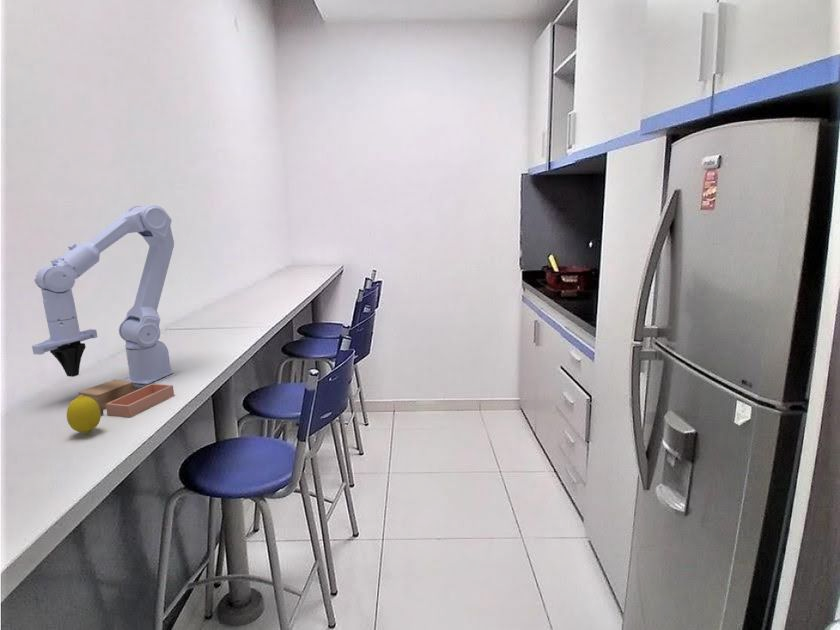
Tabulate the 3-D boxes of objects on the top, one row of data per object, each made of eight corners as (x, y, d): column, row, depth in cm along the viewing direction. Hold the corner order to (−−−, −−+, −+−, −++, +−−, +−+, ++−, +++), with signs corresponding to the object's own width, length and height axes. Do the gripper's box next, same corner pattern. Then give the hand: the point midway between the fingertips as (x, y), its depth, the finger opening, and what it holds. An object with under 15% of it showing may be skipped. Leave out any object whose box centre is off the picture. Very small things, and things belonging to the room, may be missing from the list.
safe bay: (127, 388, 128) (127, 383, 128) (154, 391, 126) (153, 386, 126) (68, 414, 113) (67, 408, 113) (97, 417, 111) (96, 412, 111)
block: (117, 395, 125) (114, 379, 124) (135, 398, 123) (133, 381, 122) (81, 409, 117) (78, 392, 116) (99, 412, 115) (97, 395, 114)
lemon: (97, 425, 107) (90, 388, 105) (108, 432, 104) (101, 394, 102) (66, 435, 103) (59, 396, 101) (76, 442, 99) (69, 403, 98)
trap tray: (153, 393, 125) (151, 383, 124) (174, 395, 123) (172, 385, 122) (107, 415, 112) (105, 404, 112) (129, 417, 111) (128, 406, 110)
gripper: (77, 311, 127) (86, 364, 130) (17, 325, 113) (29, 385, 116) (100, 311, 125) (109, 366, 128) (41, 326, 111) (53, 387, 114)
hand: (73, 375), depth 122 cm, fingers closed
